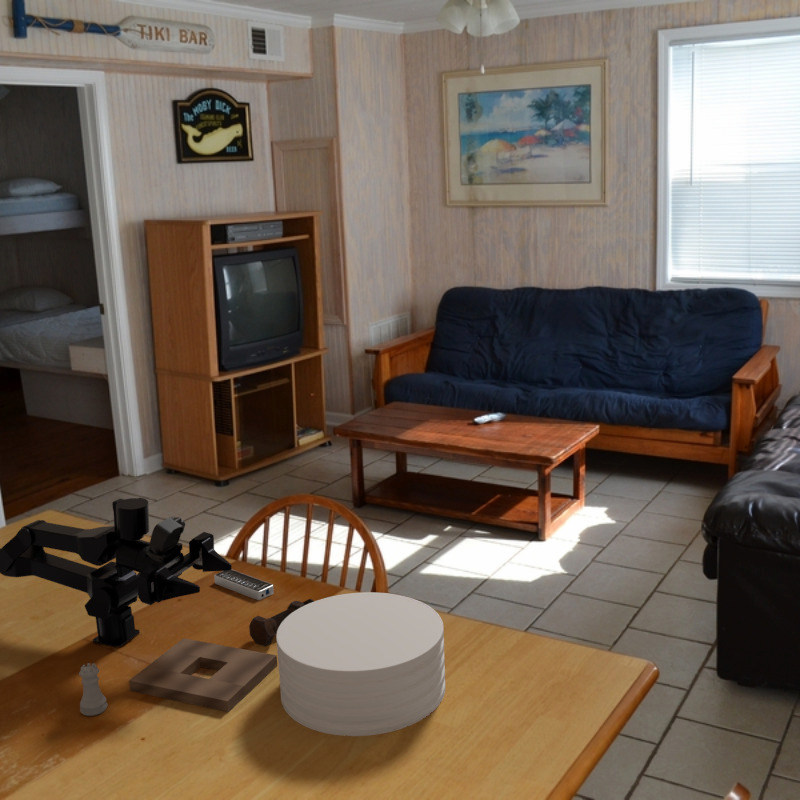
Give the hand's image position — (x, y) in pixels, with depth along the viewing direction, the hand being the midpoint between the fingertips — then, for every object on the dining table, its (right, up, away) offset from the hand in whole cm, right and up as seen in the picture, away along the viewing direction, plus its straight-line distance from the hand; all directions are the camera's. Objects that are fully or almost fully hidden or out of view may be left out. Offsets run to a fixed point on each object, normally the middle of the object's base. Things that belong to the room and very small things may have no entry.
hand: (215, 578), depth 174 cm
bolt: (+11, -13, +16) cm, 24 cm away
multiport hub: (0, -9, +35) cm, 36 cm away
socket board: (-2, -17, -1) cm, 18 cm away
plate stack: (+26, -18, -6) cm, 33 cm away
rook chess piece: (-19, -21, -9) cm, 29 cm away
